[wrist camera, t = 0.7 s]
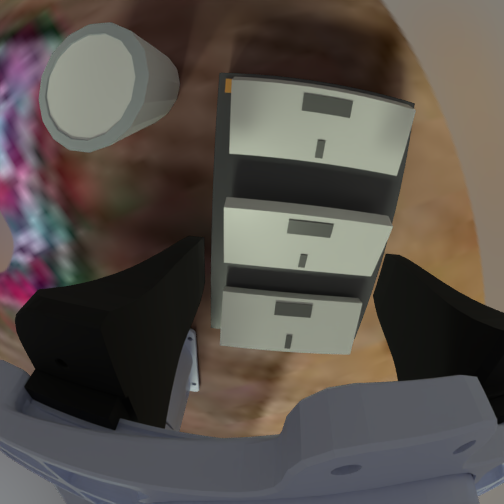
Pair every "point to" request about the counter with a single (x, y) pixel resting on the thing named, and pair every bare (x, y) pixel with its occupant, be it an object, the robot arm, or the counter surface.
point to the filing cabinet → (291, 191)
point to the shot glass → (105, 87)
